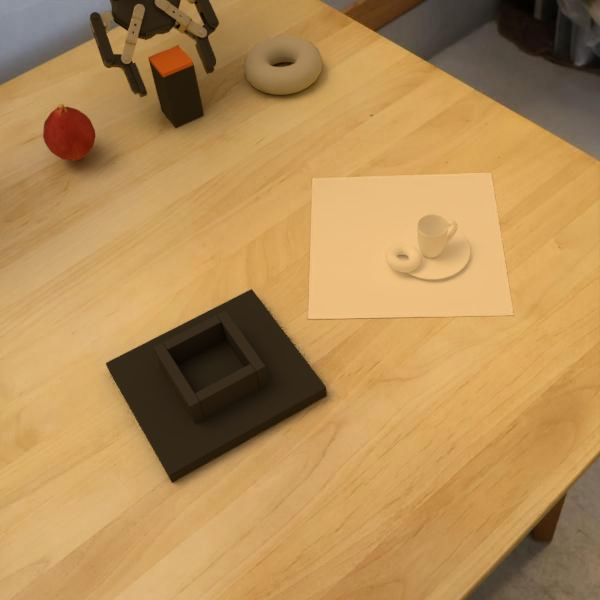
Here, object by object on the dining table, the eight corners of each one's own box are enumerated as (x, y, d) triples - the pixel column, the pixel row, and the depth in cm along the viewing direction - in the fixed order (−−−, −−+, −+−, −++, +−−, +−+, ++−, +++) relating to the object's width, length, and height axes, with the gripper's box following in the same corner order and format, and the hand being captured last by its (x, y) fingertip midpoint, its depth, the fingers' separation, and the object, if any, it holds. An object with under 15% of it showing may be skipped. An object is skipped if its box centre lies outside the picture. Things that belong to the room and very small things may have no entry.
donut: (339, 76, 108) (289, 41, 113) (338, 53, 105) (287, 19, 110) (277, 112, 105) (229, 74, 110) (275, 89, 102) (225, 52, 107)
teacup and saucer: (385, 283, 86) (386, 257, 83) (383, 226, 91) (383, 198, 88) (473, 281, 86) (477, 254, 83) (466, 223, 91) (469, 196, 87)
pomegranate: (45, 170, 101) (23, 117, 95) (68, 138, 104) (48, 85, 98) (88, 179, 99) (69, 125, 93) (110, 146, 103) (93, 92, 96)
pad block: (175, 128, 104) (162, 74, 98) (161, 111, 106) (147, 57, 100) (204, 115, 105) (193, 61, 99) (190, 99, 107) (178, 44, 101)
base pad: (172, 483, 74) (161, 458, 71) (109, 371, 82) (97, 344, 79) (327, 395, 79) (324, 368, 75) (253, 297, 87) (248, 269, 83)
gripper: (65, -43, 94) (123, 98, 96) (185, -81, 97) (238, 57, 99) (65, -21, 101) (119, 109, 103) (177, -57, 104) (227, 70, 106)
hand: (177, 83), depth 101 cm, fingers open, 8 cm apart
